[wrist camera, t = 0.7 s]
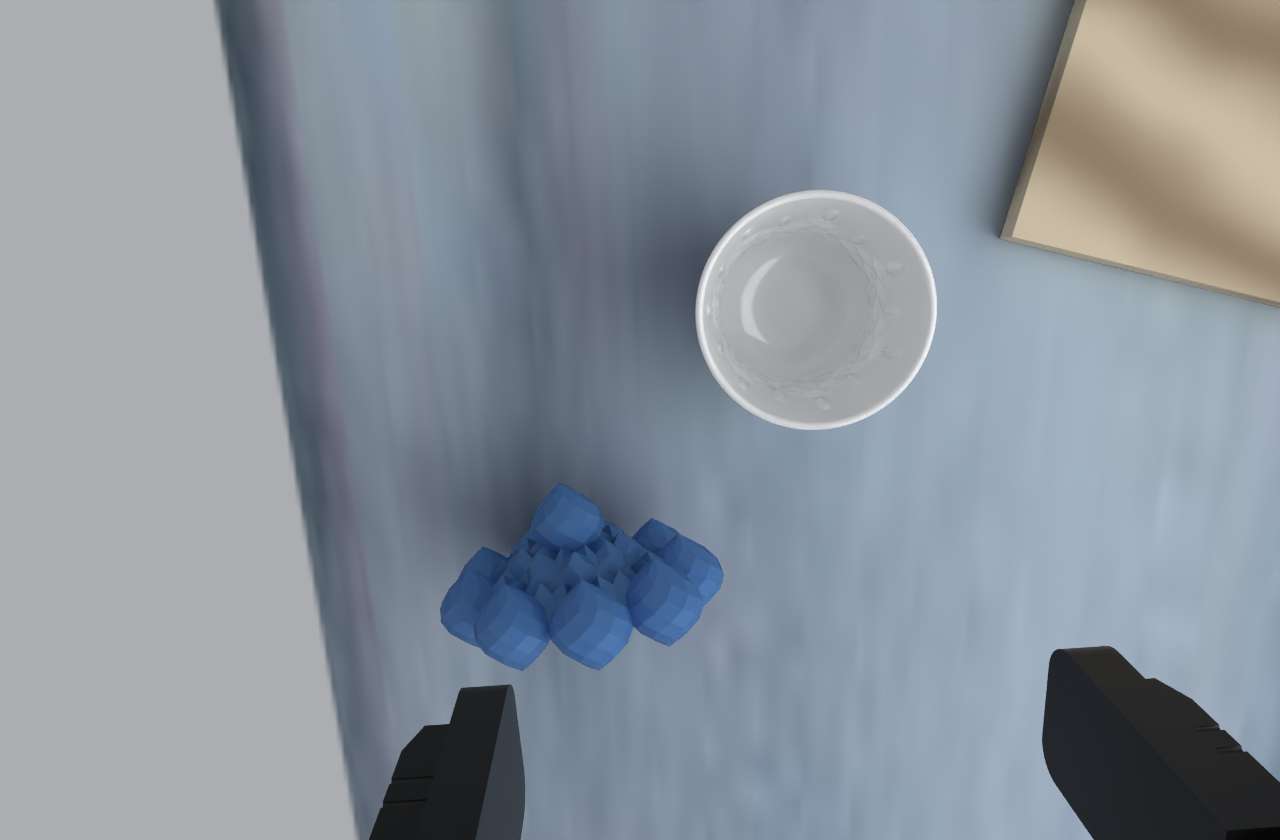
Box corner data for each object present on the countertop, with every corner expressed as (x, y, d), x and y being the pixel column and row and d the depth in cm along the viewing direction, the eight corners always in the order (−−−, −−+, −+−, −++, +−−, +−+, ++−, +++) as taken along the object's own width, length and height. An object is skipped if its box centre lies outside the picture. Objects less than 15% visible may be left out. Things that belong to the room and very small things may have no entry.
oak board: (1158, -267, 33) (1179, -293, 32) (1545, -183, 32) (1585, -206, 31) (999, 238, 36) (1012, 236, 35) (1348, 323, 36) (1375, 325, 34)
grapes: (706, 435, 39) (704, 497, 27) (729, 575, 40) (736, 695, 28) (464, 472, 40) (360, 548, 28) (491, 607, 41) (402, 735, 29)
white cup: (701, 216, 37) (697, 189, 28) (882, 216, 37) (944, 189, 27) (698, 392, 39) (693, 427, 29) (873, 395, 38) (930, 432, 28)
